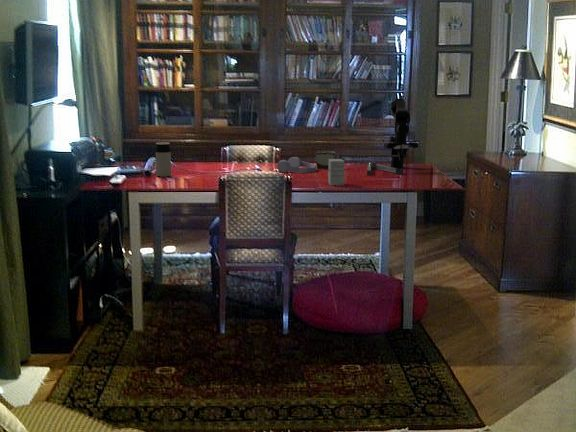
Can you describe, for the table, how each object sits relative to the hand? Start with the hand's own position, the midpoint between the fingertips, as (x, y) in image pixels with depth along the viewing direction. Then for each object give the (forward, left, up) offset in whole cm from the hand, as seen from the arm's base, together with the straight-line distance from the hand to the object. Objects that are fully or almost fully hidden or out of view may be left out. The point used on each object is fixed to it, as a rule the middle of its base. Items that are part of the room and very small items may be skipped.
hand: (400, 160), depth 450 cm
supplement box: (+54, +26, -7) cm, 60 cm away
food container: (+33, -28, -7) cm, 44 cm away
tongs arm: (+6, -2, -6) cm, 9 cm away
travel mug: (+127, -36, -7) cm, 132 cm away
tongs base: (+15, -6, -6) cm, 18 cm away
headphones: (+51, -27, -7) cm, 58 cm away
